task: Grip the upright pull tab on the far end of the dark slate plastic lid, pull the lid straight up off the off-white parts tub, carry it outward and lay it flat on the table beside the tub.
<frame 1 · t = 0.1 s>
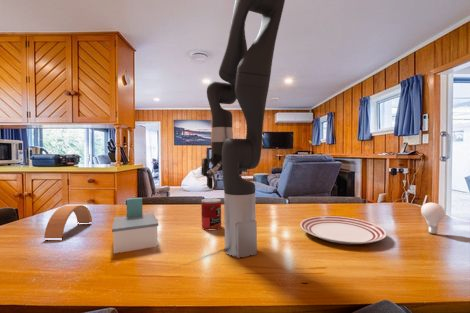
hand: (222, 187, 81), 17 cm above the table, tool pointing down, fingers open, 8 cm apart
brass part: (126, 240, 77), point 1 cm above the table, touching tub
steel part: (142, 243, 74), point 1 cm above the table, touching tub
arch: (70, 232, 90), on the table
dinner plate: (340, 235, 83), on the table
tub: (135, 244, 76), on the table
canned food: (211, 228, 93), on the table
lightbulb: (432, 234, 82), on the table
lid: (135, 222, 76), point 7 cm above the table, touching tub
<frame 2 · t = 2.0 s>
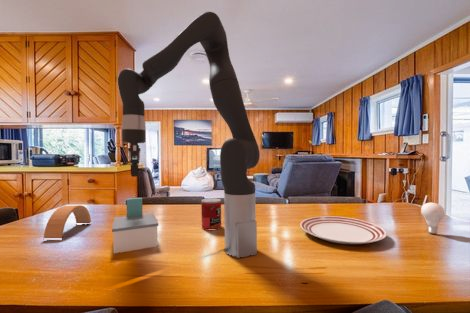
hand: (134, 175, 82), 22 cm above the table, tool pointing down, fingers open, 8 cm apart
nothing on the table moved.
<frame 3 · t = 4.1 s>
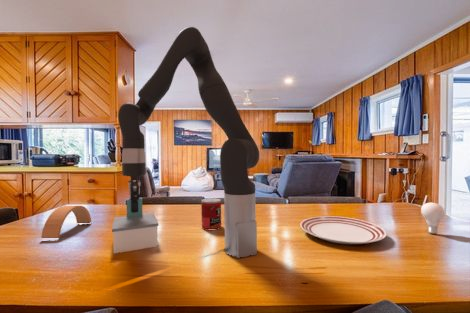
hand: (134, 211, 81), 9 cm above the table, tool pointing down, fingers closed on lid
lid: (135, 222, 76), point 7 cm above the table, touching gripper
everything else where it was.
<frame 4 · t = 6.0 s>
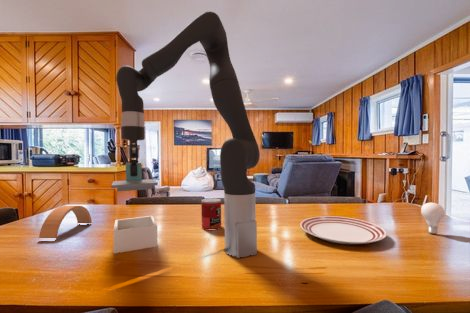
hand: (133, 175, 81), 22 cm above the table, tool pointing down, fingers closed on lid
lid: (134, 184, 75), point 19 cm above the table, touching gripper
everything else where it was.
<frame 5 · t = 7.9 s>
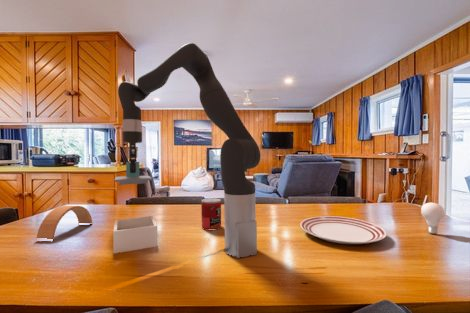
hand: (132, 172, 98), 22 cm above the table, tool pointing down, fingers closed on lid
lid: (133, 179, 92), point 20 cm above the table, touching gripper
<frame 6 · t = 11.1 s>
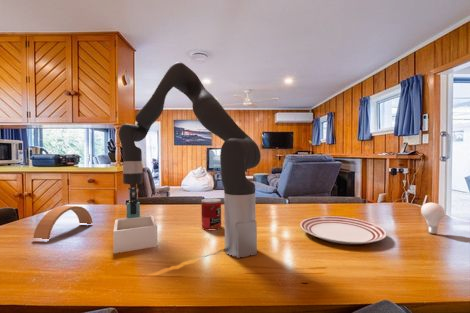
hand: (133, 213, 98), 5 cm above the table, tool pointing down, fingers closed on lid
lid: (133, 223, 92), point 2 cm above the table, touching gripper
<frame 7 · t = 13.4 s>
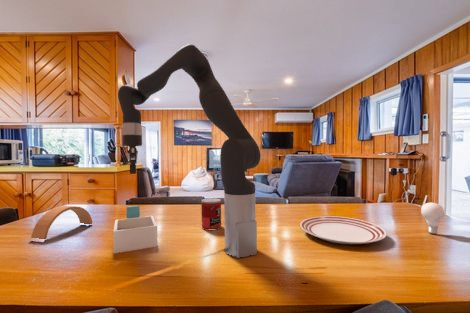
hand: (132, 173, 98), 22 cm above the table, tool pointing down, fingers open, 8 cm apart
lid: (133, 226, 92), point 1 cm above the table
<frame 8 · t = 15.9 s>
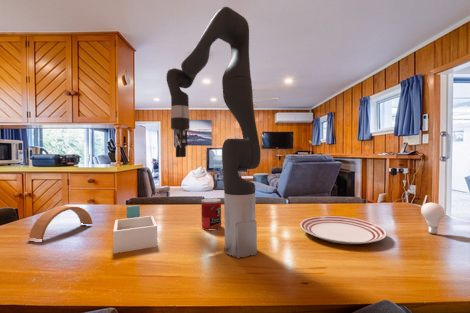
hand: (180, 157, 97), 28 cm above the table, tool pointing down, fingers open, 8 cm apart
at the end: lid inside the target area (0.8 cm from its centre), point 0.9 cm above the table; lid tilted 0°; the gripper is holding nothing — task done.
